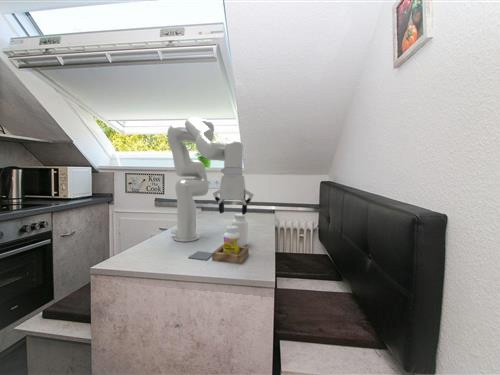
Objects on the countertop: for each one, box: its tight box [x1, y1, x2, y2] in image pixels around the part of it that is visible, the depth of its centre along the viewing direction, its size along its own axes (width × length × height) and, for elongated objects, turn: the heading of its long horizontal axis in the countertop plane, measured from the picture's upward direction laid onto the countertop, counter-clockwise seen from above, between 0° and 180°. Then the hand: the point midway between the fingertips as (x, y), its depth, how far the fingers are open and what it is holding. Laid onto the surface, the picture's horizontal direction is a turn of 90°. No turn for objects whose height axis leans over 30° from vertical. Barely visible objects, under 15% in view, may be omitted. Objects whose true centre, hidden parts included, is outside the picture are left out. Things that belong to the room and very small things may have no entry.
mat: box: [188, 250, 213, 261], centre depth 98 cm, size 8×8×1 cm
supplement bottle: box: [223, 225, 240, 255], centre depth 98 cm, size 7×7×13 cm
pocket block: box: [211, 243, 250, 265], centre depth 98 cm, size 12×12×3 cm
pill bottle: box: [231, 213, 249, 247], centre depth 116 cm, size 8×8×15 cm
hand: (232, 213), depth 97 cm, fingers open, 9 cm apart
